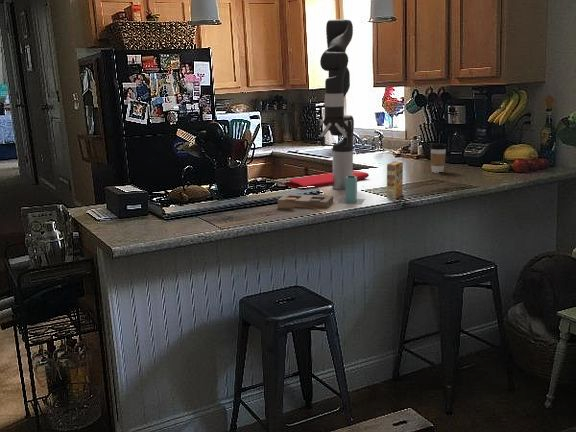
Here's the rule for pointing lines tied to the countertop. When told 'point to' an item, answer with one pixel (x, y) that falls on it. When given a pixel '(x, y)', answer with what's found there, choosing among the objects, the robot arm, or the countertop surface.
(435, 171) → the coffee cup
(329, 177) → the dish drying mat
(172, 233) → the countertop surface
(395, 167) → the candy box
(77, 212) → the countertop surface
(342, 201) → the deck
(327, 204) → the socket block
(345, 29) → the robot arm
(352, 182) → the plug
